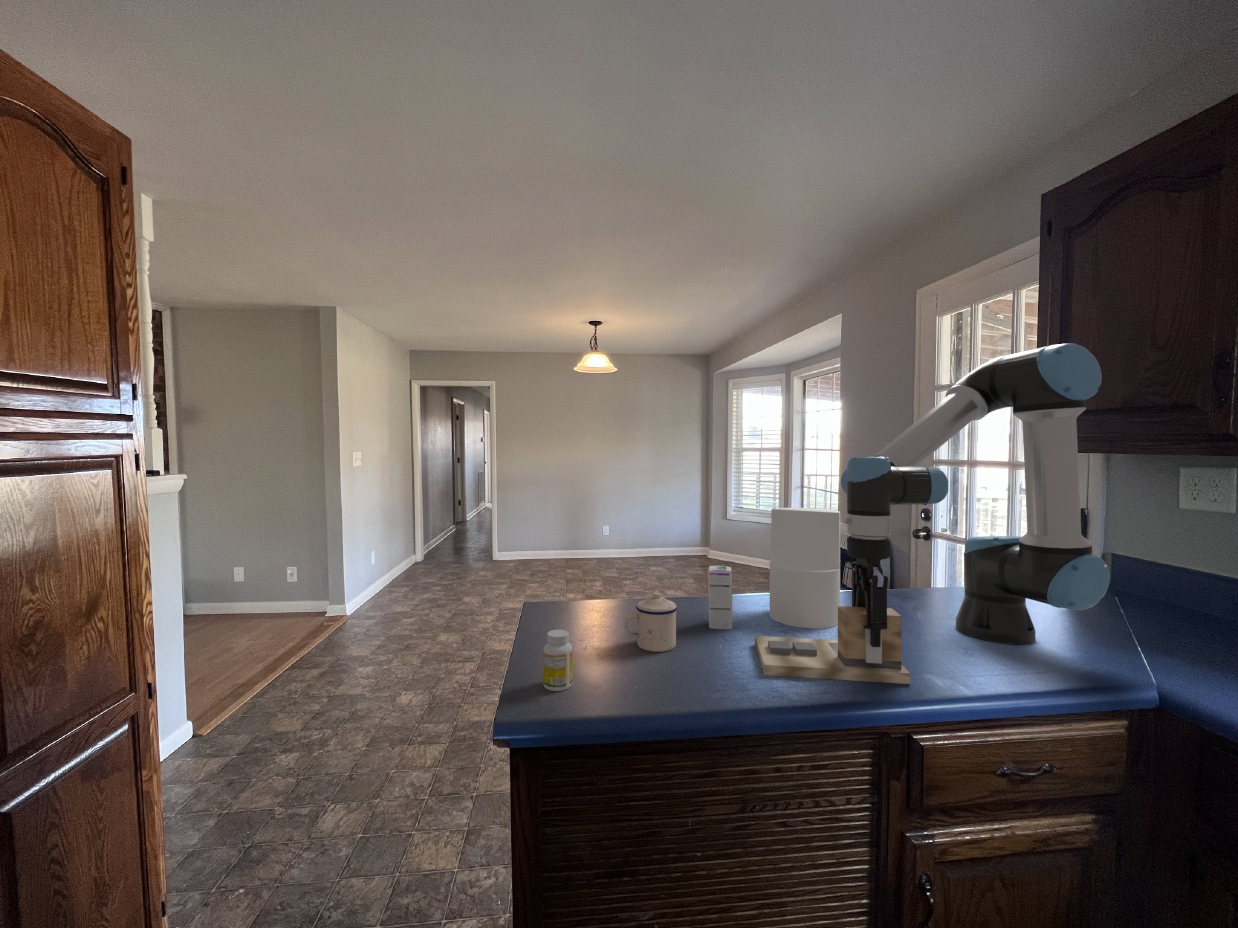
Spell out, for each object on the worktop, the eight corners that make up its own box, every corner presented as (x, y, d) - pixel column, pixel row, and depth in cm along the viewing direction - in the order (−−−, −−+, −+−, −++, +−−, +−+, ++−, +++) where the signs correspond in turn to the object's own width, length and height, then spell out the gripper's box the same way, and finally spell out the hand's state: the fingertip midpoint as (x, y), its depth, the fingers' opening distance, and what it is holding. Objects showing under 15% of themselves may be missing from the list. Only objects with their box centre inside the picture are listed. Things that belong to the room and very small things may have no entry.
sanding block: (891, 658, 99) (891, 608, 99) (901, 669, 94) (901, 615, 94) (837, 655, 100) (837, 605, 100) (845, 665, 95) (845, 613, 95)
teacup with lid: (668, 636, 117) (668, 586, 117) (683, 650, 109) (683, 596, 109) (618, 641, 114) (618, 590, 114) (630, 656, 105) (630, 601, 105)
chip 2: (812, 648, 104) (812, 642, 104) (817, 655, 100) (817, 649, 100) (792, 647, 105) (792, 641, 105) (796, 654, 101) (796, 648, 101)
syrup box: (732, 630, 121) (732, 570, 121) (707, 628, 123) (707, 569, 122) (732, 622, 127) (732, 565, 127) (708, 621, 128) (708, 564, 128)
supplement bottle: (557, 694, 88) (556, 640, 88) (537, 685, 92) (536, 633, 92) (578, 684, 92) (578, 632, 92) (558, 676, 96) (558, 626, 96)
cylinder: (781, 604, 143) (781, 506, 143) (846, 615, 133) (846, 509, 133) (760, 619, 129) (760, 511, 129) (830, 633, 119) (831, 515, 119)
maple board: (879, 651, 108) (879, 641, 108) (910, 683, 92) (910, 672, 92) (754, 644, 112) (754, 635, 112) (764, 674, 96) (764, 664, 96)
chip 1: (787, 647, 105) (787, 641, 105) (791, 654, 101) (791, 648, 101) (767, 646, 106) (767, 640, 106) (770, 653, 102) (770, 647, 102)
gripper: (835, 529, 106) (835, 638, 106) (863, 543, 88) (863, 674, 89) (872, 530, 105) (872, 640, 105) (908, 544, 87) (908, 677, 87)
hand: (868, 656), depth 97 cm, fingers closed on sanding block, 5 cm apart
